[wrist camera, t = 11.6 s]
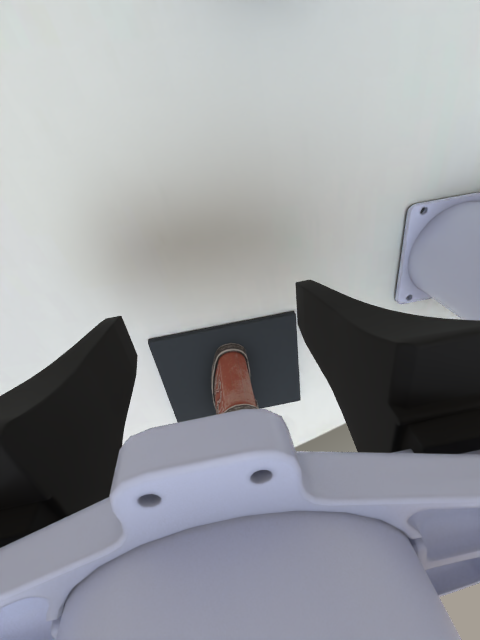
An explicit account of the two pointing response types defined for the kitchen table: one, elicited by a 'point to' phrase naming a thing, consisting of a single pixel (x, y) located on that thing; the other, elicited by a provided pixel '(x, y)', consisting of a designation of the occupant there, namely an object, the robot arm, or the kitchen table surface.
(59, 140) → the kitchen table surface
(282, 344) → the mat
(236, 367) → the lighter
